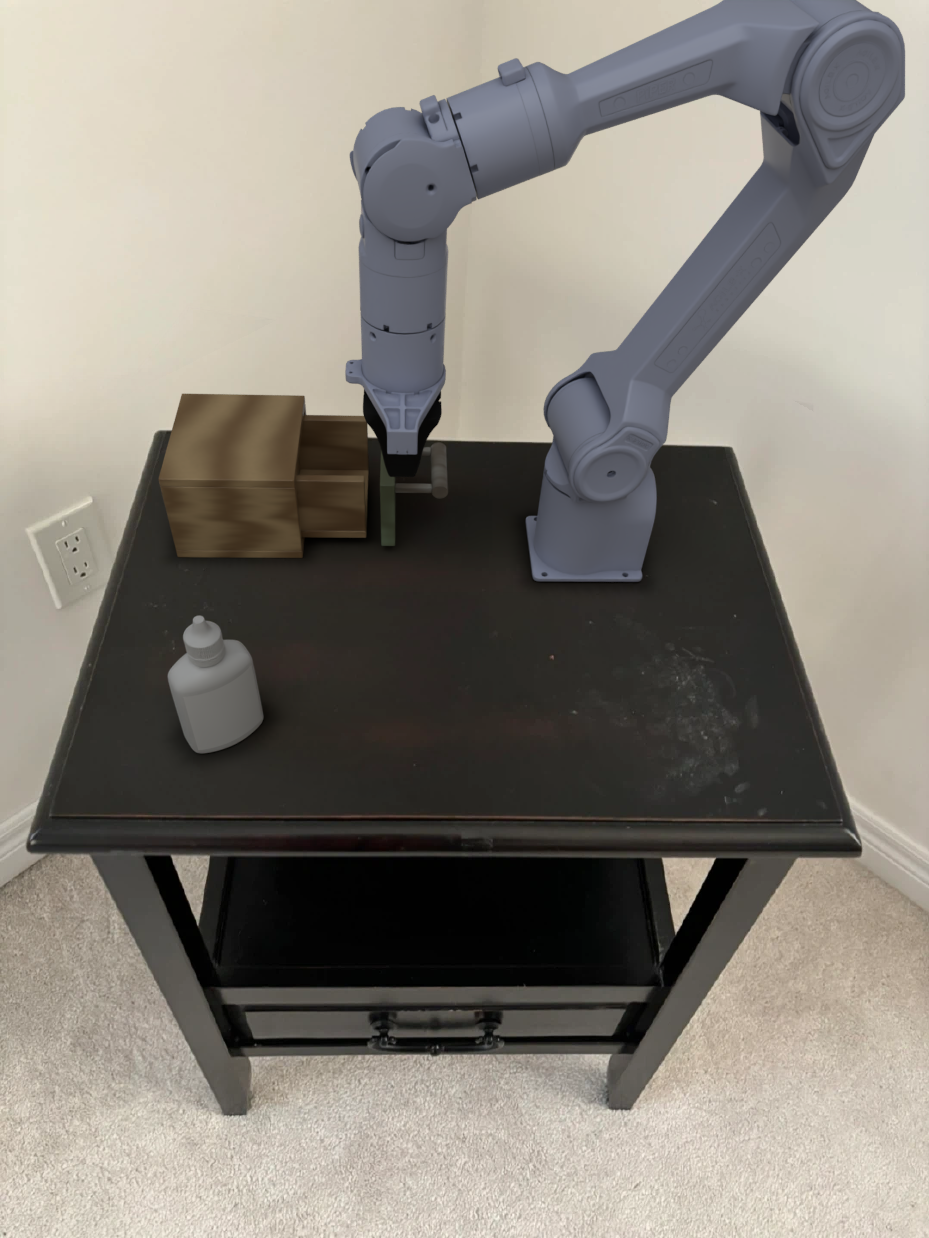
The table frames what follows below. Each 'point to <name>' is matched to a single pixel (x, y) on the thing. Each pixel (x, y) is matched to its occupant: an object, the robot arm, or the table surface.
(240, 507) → the cabinet
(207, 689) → the eye dropper bottle
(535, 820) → the table surface
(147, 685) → the table surface
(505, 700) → the table surface
